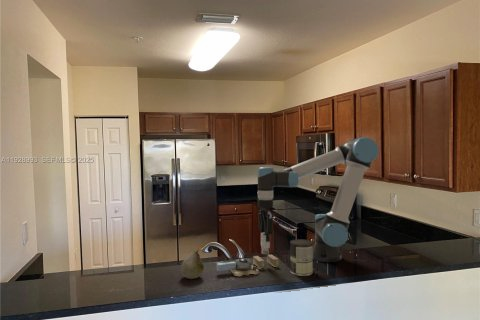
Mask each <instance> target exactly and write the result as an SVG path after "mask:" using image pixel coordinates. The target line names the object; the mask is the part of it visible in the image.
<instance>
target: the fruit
mask: <svg viewBox="0 0 480 320" xmlns="http://www.w3.org/2000/svg"><path fill="white" fill-rule="evenodd" d="M204 269H205V265H204V262H203V261H202V259H201V256H200V254H199V249H196V251H194V250H193V251H191V252H190V253H189V254H188V255H187V256H186V258H185V259H184V260H183V261H182V263H181V266H180V272H181V275H182V276H183V277H184V278H186V279H190V280H193V279H198V278H200V276H201V275H202V274H203V272H204Z"/></svg>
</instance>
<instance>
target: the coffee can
mask: <svg viewBox="0 0 480 320" xmlns="http://www.w3.org/2000/svg"><path fill="white" fill-rule="evenodd" d="M289 244H290V270H289V272H290V273H291V274H292V275H294V276H298V277H307V276H311V275H312V274H313V273H314V270H313V267H314V265H313V264H314V263H313V260H314V259H313V248H314V242H313V241H311V240H309V239H305V238H304V239H302V238H301V239H300V238H299V239H292V240H290V243H289Z"/></svg>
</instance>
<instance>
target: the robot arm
mask: <svg viewBox="0 0 480 320" xmlns="http://www.w3.org/2000/svg"><path fill="white" fill-rule="evenodd" d="M379 151H380V150H379V146H378V144H377V142H376V141H375V140H374V139H372V138H369V137H365V136H362V137H361V136H360V137H358V138H353V139H350V140H348V141H347V142H345V143H343V144H341V145H338V146H336V147H335V149H333V150H331V151H329V152H326V153H324V154H320V155H317V156H315V157H312V158H310V159H308V160H305V161H302V162H300V163H297V164H295V165H292V166H290V167H287V168H284V169H280V170H278V171H275V170H274V167H267V166H264V167H262V166H261V167H259V168H258V169H257V208H259V210H258V211H257V214H258V231H259V232H260V240H261V239H262V232H265V234H264V248H269V249H270V248H271V247H270V246H271V243H270V242H271V239H270V238H271V237H270V236H271V235H272V234H273V221H274V220H273V217H274V214H273V213H271V208H273V207H274V187H275V188H277V187H279V188H280V187H281V188H297V187H298V185H299V180H300V179H303V178H305V177H309V176H312V175H313V174H316V173H318V172H321V171H324V170H327V169H329V168H332V167H334V166H337V165H340V164H342V165H346V168H345V170H344V173H343V176H342V179H341V182H340V184H339V187H338V188H337V189H338V190H337V193H336V195H335V198H334V201H333V204H332V206H331V209H330V211H329V212H327V213H318V214H316V215H315V217H314V222H315V223H314V235H315V236H314V244H313V260H314V261H318V262H323V263H336V262H340V261H341V260H342V259H343V258H342V253H341V249H340V247H342V246H343V245H344V244H346V242H347V240H348V237H349V232H348V229H349V225H350V223H351V222H350V220H349V216H350V214H351V211H352V209H353V205H354V202H355V200H356V197H357V194H358V191H359V189H360V186H361V183H362V181H363V178H364V175H365V172H366V171H367V170H368V171H369V170H370V168H371V165H372V163H373V162H374V161H375V160H376V159H377V158H378V155H379Z"/></svg>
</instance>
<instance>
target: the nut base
mask: <svg viewBox="0 0 480 320" xmlns="http://www.w3.org/2000/svg"><path fill="white" fill-rule="evenodd" d="M229 272H231V273H232V274H233V275H234V276H238V277H243V276H242V275H246V276H250V275H249V274H254V275H259V274H258V273H260V271H259V269H258V268H257V267H256V266H254V265H252V268H251V269H250V270H237V269H233V270H229Z"/></svg>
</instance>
